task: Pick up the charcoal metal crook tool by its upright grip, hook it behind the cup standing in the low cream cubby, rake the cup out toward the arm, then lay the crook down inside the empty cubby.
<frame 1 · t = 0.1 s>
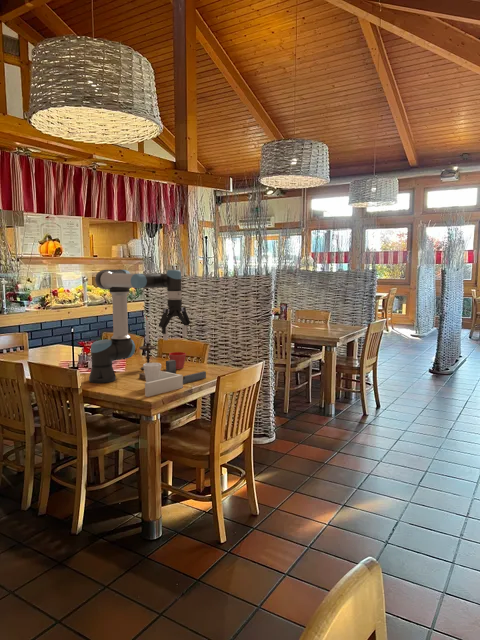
hand: (175, 338, 255), 28 cm above the table, tool pointing down, fingers open, 13 cm apart
cubby: (154, 389, 258), on the table
crook tool: (175, 381, 275), on the table
walnut stick: (149, 380, 281), on the table
flower pot: (177, 368, 313), on the table
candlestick: (148, 369, 311), on the table
cup: (152, 387, 262), on the table
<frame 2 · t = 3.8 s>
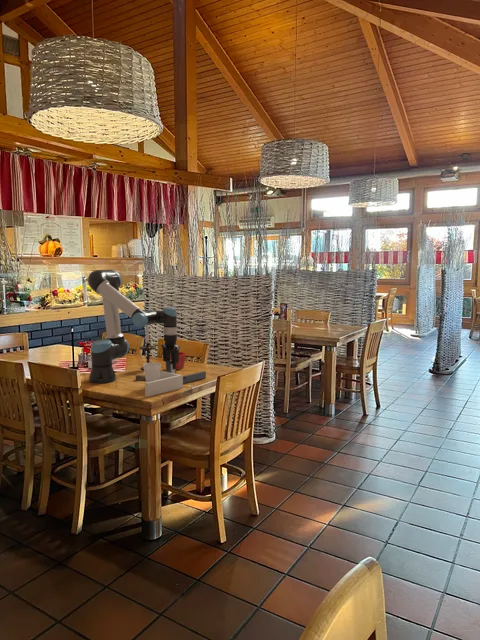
hand: (170, 374, 277), 4 cm above the table, tool pointing down, fingers closed on crook tool, 3 cm apart
crook tool: (175, 381, 275), on the table, touching gripper
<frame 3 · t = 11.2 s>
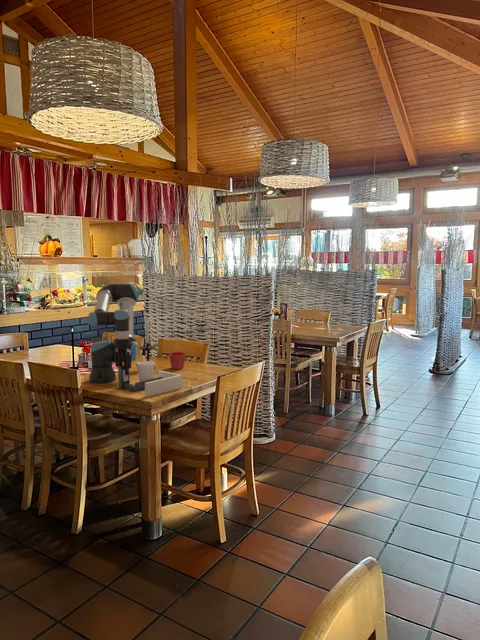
hand: (123, 380, 261), 4 cm above the table, tool pointing down, fingers closed on crook tool, 3 cm apart
crook tool: (128, 388, 259), on the table, touching gripper
cup: (146, 386, 266), on the table
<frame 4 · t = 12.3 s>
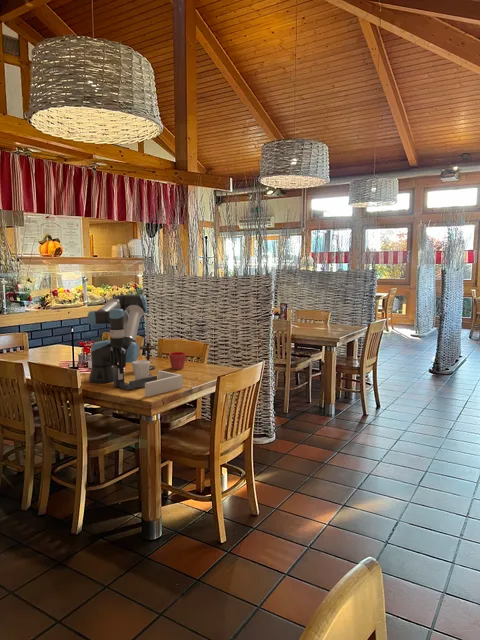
hand: (118, 378, 263), 5 cm above the table, tool pointing down, fingers closed on crook tool, 3 cm apart
crook tool: (122, 387, 261), on the table, touching cup, gripper
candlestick: (148, 368, 311), on the table, touching arm
cup: (141, 385, 268), on the table, touching crook tool
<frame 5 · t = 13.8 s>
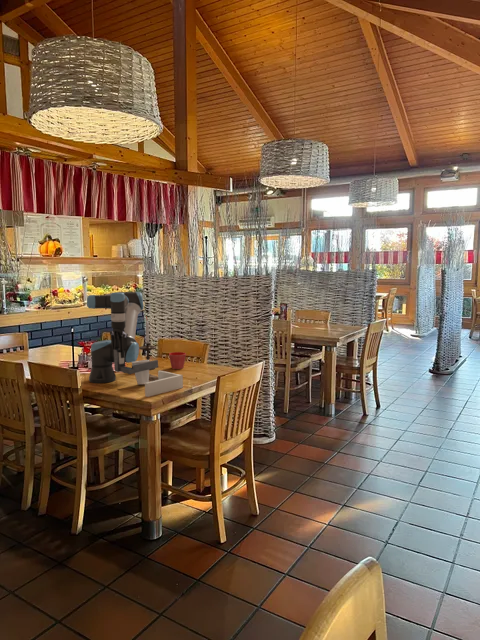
hand: (119, 363, 262), 14 cm above the table, tool pointing down, fingers closed on crook tool, 3 cm apart
crook tool: (124, 371, 260), point 9 cm above the table, touching gripper
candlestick: (148, 369, 311), on the table
cup: (143, 384, 268), on the table
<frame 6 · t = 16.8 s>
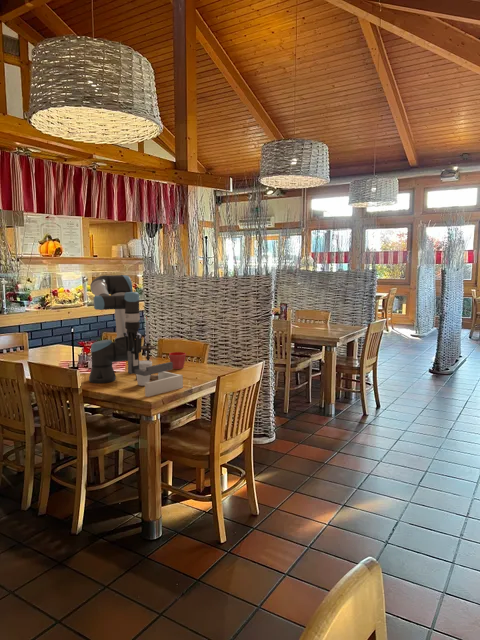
hand: (133, 365, 253), 14 cm above the table, tool pointing down, fingers closed on crook tool, 3 cm apart
crook tool: (138, 373, 251), point 10 cm above the table, touching gripper
when the fingers open (6 cm above the table, at t = 18.3 s): crook tool drops 1 cm, on the table.
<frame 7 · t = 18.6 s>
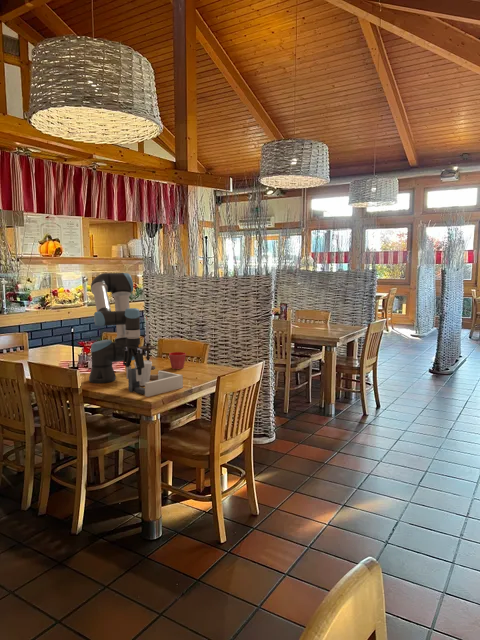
hand: (133, 379, 254), 6 cm above the table, tool pointing down, fingers open, 8 cm apart
crook tool: (138, 392, 252), on the table
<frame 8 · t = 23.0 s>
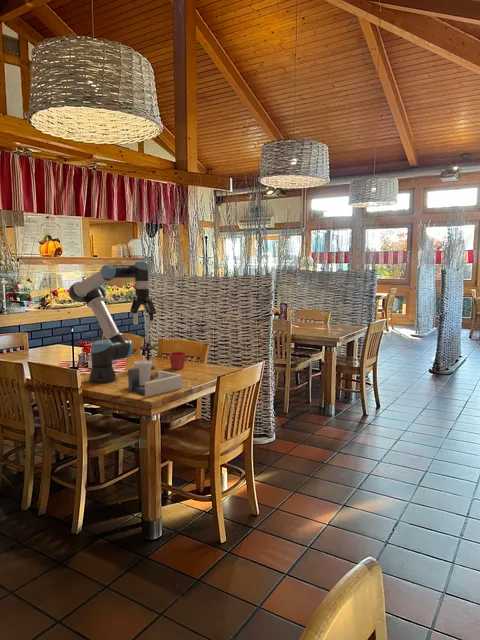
hand: (143, 325, 274), 33 cm above the table, tool pointing down, fingers open, 13 cm apart
at the end: cup inside the target area (3.3 cm from its centre), on the table; cup tilted 1°; crook tool inside the target area (0.1 cm from its centre), on the table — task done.
